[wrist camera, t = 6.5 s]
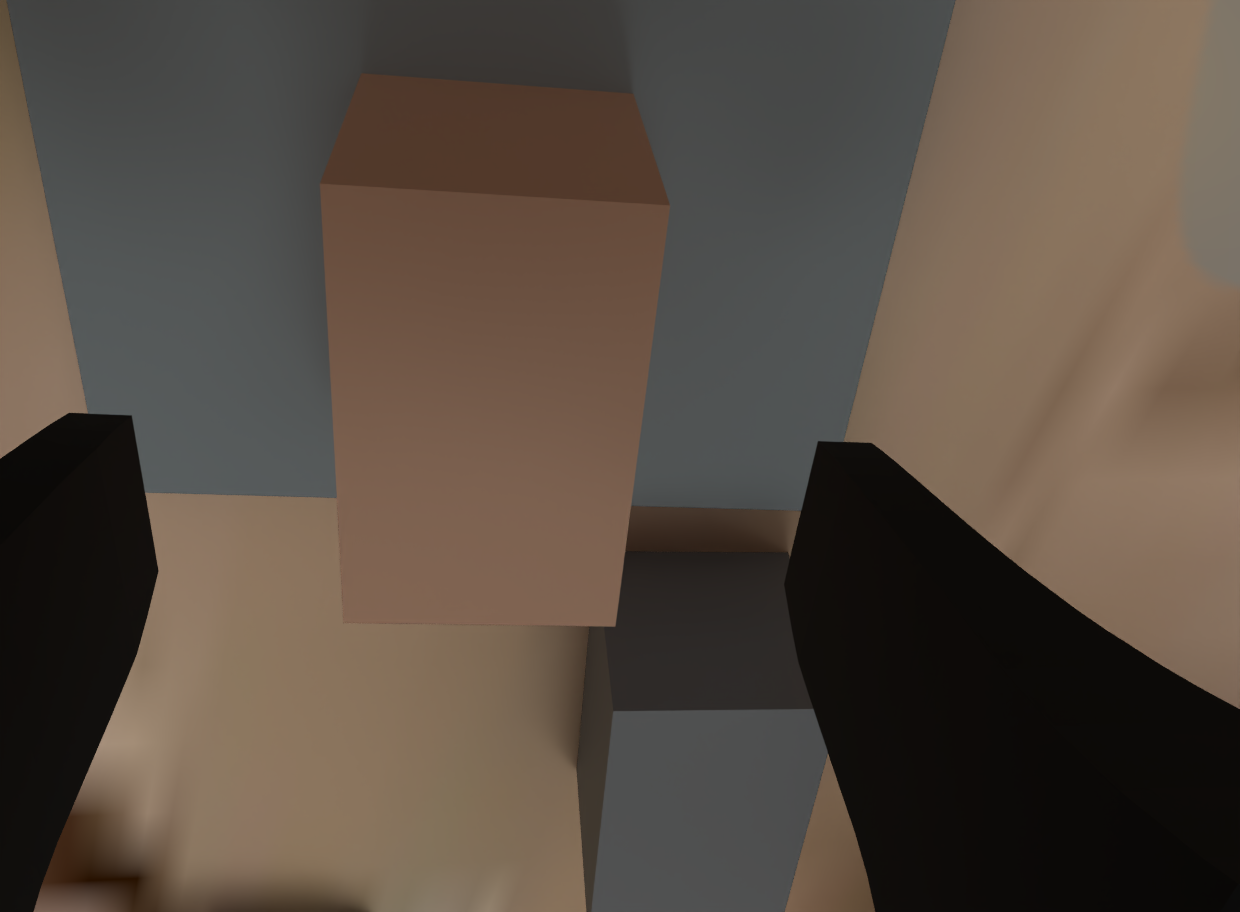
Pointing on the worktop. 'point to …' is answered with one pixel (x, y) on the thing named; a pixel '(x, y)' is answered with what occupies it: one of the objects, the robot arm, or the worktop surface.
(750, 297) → the slate mat
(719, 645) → the charcoal brick
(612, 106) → the terracotta brick
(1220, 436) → the worktop surface
